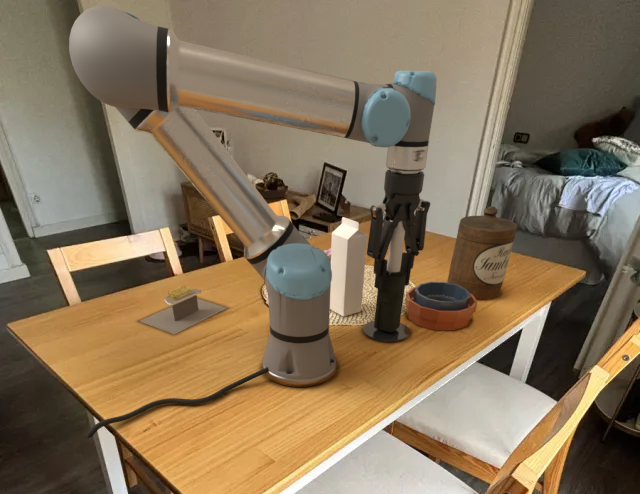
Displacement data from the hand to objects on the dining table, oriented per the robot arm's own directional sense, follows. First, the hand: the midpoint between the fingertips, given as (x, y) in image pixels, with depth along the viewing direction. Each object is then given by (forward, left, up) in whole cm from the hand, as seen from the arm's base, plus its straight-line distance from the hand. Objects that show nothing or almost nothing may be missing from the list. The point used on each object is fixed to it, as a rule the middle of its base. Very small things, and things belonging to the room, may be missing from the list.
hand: (391, 285), depth 107 cm
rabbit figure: (+17, +50, -11) cm, 54 cm away
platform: (-39, +31, -11) cm, 51 cm away
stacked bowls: (+17, +1, -11) cm, 20 cm away
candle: (0, 0, -10) cm, 10 cm away
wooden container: (+38, +10, -11) cm, 41 cm away
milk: (-2, +15, -11) cm, 19 cm away
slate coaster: (0, 0, -11) cm, 11 cm away
